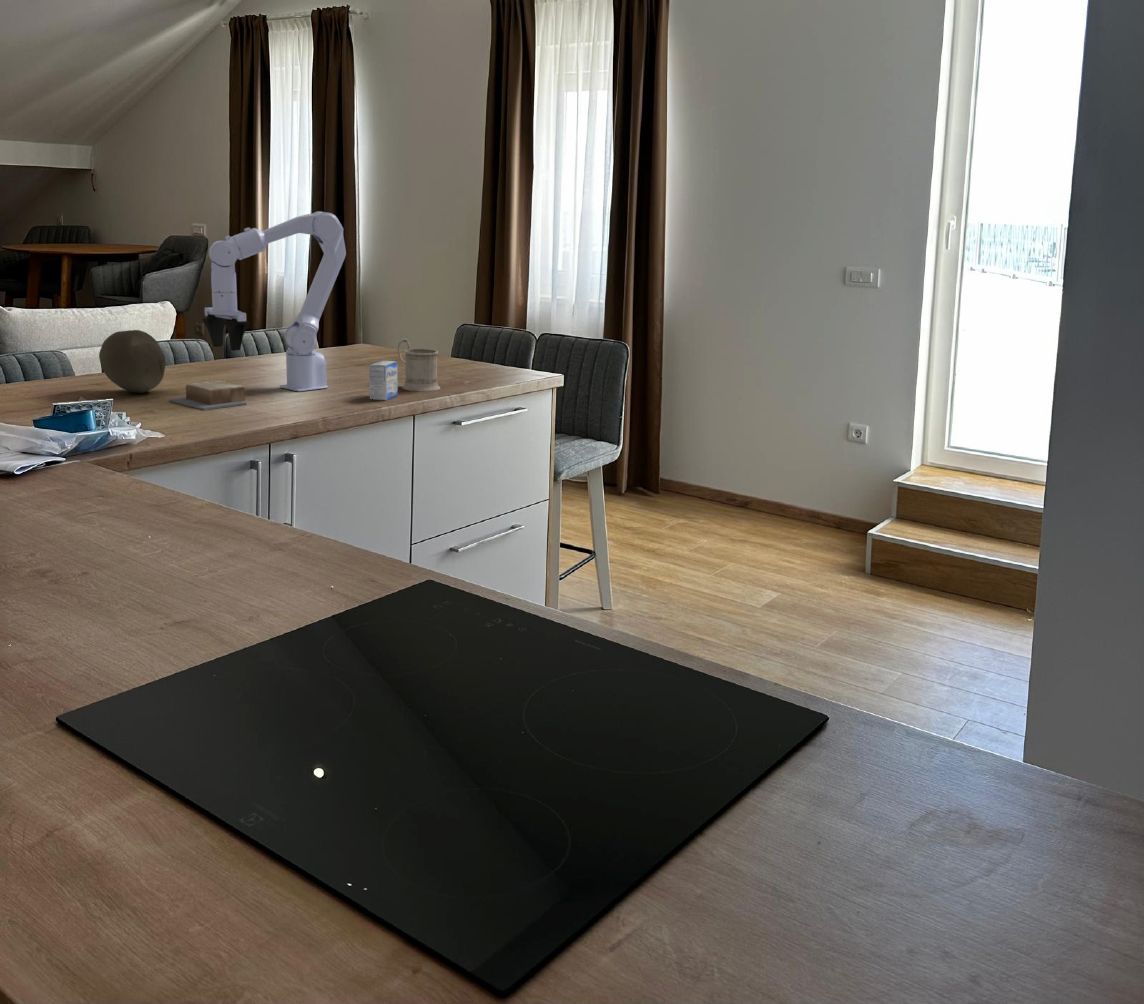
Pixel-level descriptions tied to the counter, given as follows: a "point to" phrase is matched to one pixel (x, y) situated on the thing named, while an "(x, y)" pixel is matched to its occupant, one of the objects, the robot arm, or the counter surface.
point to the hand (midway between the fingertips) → (226, 348)
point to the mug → (420, 368)
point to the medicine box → (383, 380)
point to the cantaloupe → (132, 360)
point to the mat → (204, 406)
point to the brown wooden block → (215, 392)
